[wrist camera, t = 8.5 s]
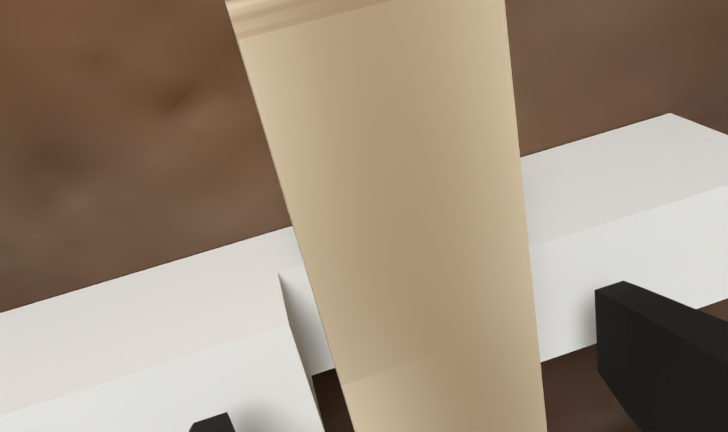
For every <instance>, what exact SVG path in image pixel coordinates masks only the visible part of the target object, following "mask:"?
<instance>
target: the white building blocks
mask: <svg viewBox="0 0 728 432" xmlns="http://www.w3.org/2000/svg"><path fill="white" fill-rule="evenodd" d="M520 163H521V173H522V183H523V193H524V203H525V213H526V223H527V233H528V243H529V253H530V263H531V273H532V283H533V293H534V303H535V313H536V323H537V333H538V343H539V353H540V362H543V361H546V360H549V359H552V358H555V357H558V356H561V355H564V354H566V353H569V352H572V351H575V350H578V349H581V348H584V347H587V346H590V345H593V344H596V343H597V339H596V316H595V292H594V290H596V289H599V288H602V287H605V286H608V285H611V284H614V283H617V282H620V281H626V282H629V283H632V284H634V285H637V286H640V287H642V288H645V289H647V290H650V291H652V292H655V293H657V294H660V295H662V296H665V297H667V298H670V299H672V300H674V301H677V302H679V303H682V304H684V305H687V306H689V307H692V308H694V309H698V308H701V307H704V306H707V305H709V304H712V303H715V302H718V301H721V300H724V299H727V298H728V135H726V134H723V133H721V132H718V131H715V130H713V129H710V128H708V127H705V126H703V125H700V124H697V123H695V122H692V121H690V120H687V119H684V118H682V117H679V116H677V115H674V114H672V113H669V114H665V115H662V116H659V117H655V118H652V119H648V120H645V121H642V122H638V123H635V124H632V125H628V126H625V127H622V128H618V129H615V130H612V131H608V132H605V133H602V134H598V135H595V136H592V137H588V138H585V139H582V140H578V141H575V142H572V143H568V144H565V145H562V146H558V147H555V148H551V149H548V150H545V151H541V152H538V153H535V154H531V155H528V156H525V157H521V158H520ZM333 368H335V365H334V362H333V359H332V355H331V352H330V349H329V345H328V342H327V339H326V335H325V332H324V329H323V325H322V322H321V319H320V315H319V312H318V309H317V305H316V302H315V299H314V295H313V292H312V289H311V286H310V282H309V279H308V276H307V272H306V269H305V266H304V262H303V259H302V256H301V252H300V249H299V246H298V242H297V239H296V236H295V232H294V229H293V226H291V227H287V228H284V229H280V230H277V231H274V232H270V233H267V234H264V235H260V236H257V237H254V238H250V239H247V240H244V241H240V242H237V243H234V244H230V245H227V246H224V247H220V248H217V249H214V250H210V251H207V252H204V253H200V254H197V255H193V256H190V257H187V258H183V259H180V260H177V261H173V262H170V263H167V264H163V265H160V266H157V267H153V268H150V269H147V270H143V271H140V272H137V273H133V274H130V275H127V276H123V277H120V278H117V279H113V280H110V281H107V282H103V283H100V284H96V285H93V286H90V287H86V288H83V289H80V290H76V291H73V292H70V293H66V294H63V295H60V296H56V297H53V298H50V299H46V300H43V301H40V302H36V303H33V304H30V305H26V306H23V307H20V308H16V309H13V310H9V311H6V312H3V313H0V432H189V430H190V428H191V426H192V425H193V423H195V422H198V421H201V420H204V419H207V418H210V417H213V416H216V415H219V414H222V413H225V412H227V413H228V415H229V417H230V420H231V422H232V424H233V427H234V429H235V432H325V430H324V426H323V422H322V418H321V414H320V410H319V406H318V402H317V397H316V393H315V389H314V385H313V381H312V377H311V376H312V375H315V374H318V373H321V372H324V371H327V370H330V369H333Z"/></svg>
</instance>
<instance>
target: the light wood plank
mask: <svg viewBox="0 0 728 432" xmlns="http://www.w3.org/2000/svg"><path fill="white" fill-rule="evenodd" d="M224 1H225V4H226V7H227V11H228V14H229V17H230V21H231V24H232V27H233V31H234V34H235V37H236V40H237V44H238V47H239V50H240V54H241V57H242V60H243V64H244V67H245V70H246V74H247V77H248V80H249V84H250V87H251V90H252V94H253V97H254V100H255V104H256V107H257V110H258V114H259V117H260V120H261V123H262V127H263V130H264V133H265V137H266V140H267V143H268V147H269V150H270V153H271V157H272V160H273V163H274V167H275V170H276V173H277V177H278V180H279V183H280V187H281V190H282V193H283V196H284V200H285V203H286V206H287V210H288V213H289V216H290V219H291V223H292V226H293V229H294V232H295V236H296V239H297V242H298V246H299V249H300V252H301V256H302V259H303V262H304V266H305V269H306V272H307V276H308V279H309V282H310V286H311V289H312V292H313V295H314V299H315V302H316V305H317V309H318V312H319V315H320V319H321V322H322V325H323V329H324V332H325V335H326V339H327V342H328V345H329V349H330V352H331V355H332V359H333V362H334V365H335V369H336V372H337V376H338V379H339V382H340V386H341V389H342V392H343V396H344V399H345V402H346V406H347V409H348V412H349V415H350V419H351V422H352V425H353V429H354V432H547V424H546V414H545V404H544V394H543V384H542V374H541V364H540V353H539V343H538V333H537V323H536V313H535V303H534V293H533V283H532V273H531V263H530V253H529V243H528V233H527V223H526V213H525V203H524V193H523V183H522V173H521V163H520V153H519V142H518V132H517V122H516V112H515V102H514V92H513V82H512V72H511V62H510V52H509V42H508V32H507V22H506V12H505V2H504V0H224Z"/></svg>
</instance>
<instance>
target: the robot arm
mask: <svg viewBox="0 0 728 432" xmlns="http://www.w3.org/2000/svg"><path fill="white" fill-rule="evenodd" d="M594 292H595V316H596V339H597V363H598V372H599V373H600V375H601V376H602V378H603V379H604V381H605V382H606V384H607V385H608V387H609V388H610V390H611V391H612V393H613V394H614V396H615V397H616V398H617V400H618V401H619V403H620V404H621V405H622V407H623V408H624V410H625V411H626V412H627V414H628V415H629V416H630V418H631V419H632V420H633V421H634V422H635V423H636V424H637V426H638V427H639V428H640V429H641V430H642V431H643V432H728V322H727V321H724V320H722V319H719V318H717V317H714V316H711V315H709V314H706V313H704V312H701V311H699V310H697V309H694V308H692V307H689V306H687V305H684V304H682V303H679V302H677V301H674V300H672V299H670V298H667V297H665V296H662V295H660V294H657V293H655V292H652V291H650V290H647V289H645V288H642V287H640V286H637V285H634V284H632V283H629V282H626V281H620V282H617V283H614V284H611V285H608V286H605V287H602V288H599V289H596V290H594ZM189 432H235V429H234V427H233V424H232V422H231V420H230V417H229V415H228V413H227V412H225V413H222V414H219V415H216V416H213V417H210V418H207V419H204V420H201V421H198V422H195V423H193V425H192V426H191V428H190V430H189Z"/></svg>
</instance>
